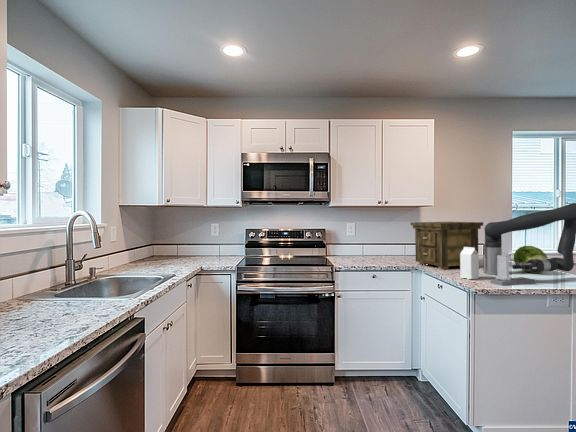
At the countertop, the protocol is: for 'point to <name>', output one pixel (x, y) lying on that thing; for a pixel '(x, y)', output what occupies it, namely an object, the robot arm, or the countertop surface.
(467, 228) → the wooden drawer cabinet
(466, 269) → the milk carton
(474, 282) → the countertop surface
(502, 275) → the fader tab
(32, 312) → the countertop surface
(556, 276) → the countertop surface
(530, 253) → the lettuce
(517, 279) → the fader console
